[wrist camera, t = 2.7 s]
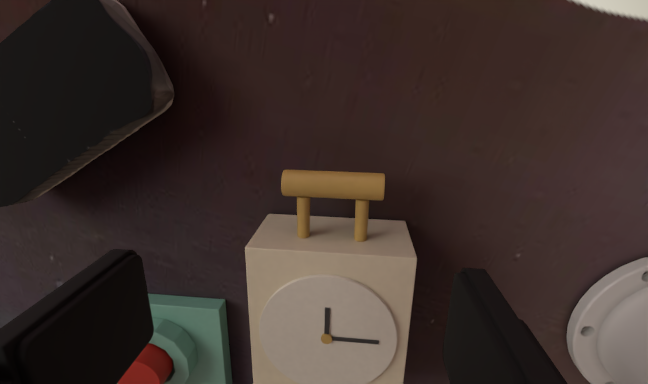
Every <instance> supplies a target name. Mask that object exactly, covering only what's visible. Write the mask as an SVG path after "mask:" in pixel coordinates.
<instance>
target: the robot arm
mask: <svg viewBox="0 0 648 384" xmlns="http://www.w3.org/2000/svg"><path fill="white" fill-rule="evenodd" d="M153 333H154V325H153V320H152V314H151V308H150V303H149V297H148V292H147V286H146V280H145V275H144V269H143V263H142V259H141V257H140V256H139V255H137V253H136V252H135V251H133V250H120V249H113V250H111V251H109V252H108V253H106V254H105V255H104V256H102V257H101V258H99V259H98V260H97V261H95V262H94V263H92V264H91V265H90V266H88V267H87V268H85V269H84V270H82V271H81V272H80V273H78V274H77V275H75V276H74V277H73V278H71V279H70V280H68V281H67V282H65V283H64V284H63V285H61V286H60V287H58V288H57V289H56V290H54V291H53V292H51V293H50V294H49V295H47V296H46V297H44V298H43V299H41V300H40V301H39V302H37V303H36V304H34V305H33V306H32V307H30V308H29V309H27V310H26V311H24V312H23V313H22V314H20V315H19V316H17V317H16V318H15V319H13V320H12V321H10V322H9V323H8V324H6V325H5V326H3V327H2V328H0V384H117V383H118V381H119V380H120V379H121V378H122V376H123V375H124V374H125V372H126V371H127V370H128V369H129V367H130V366H131V365H132V363H133V362H134V361H135V360H136V358H137V357H138V356H139V354H140V353H141V352H142V351H143V349H144V348H145V347H146V346H147V344H148V343H149V342H150V340H151V338H152V336H153ZM566 340H567V346H568V352H569V354H570V356H571V358H572V361H573V363H574V364H575V365H576V367H577V368H578V370H579V371H580V372H581V374H582V375H583V376H584V377H585V378H586V379H587V380H588V381H589V382H590V383H591V384H648V257H645V258H641V259H638V260H636V261H633V262H631V263H628V264H626V265H623V266H621V267H619V268H617V269H616V270H614V271H612V272H611V273H609V274H607V275H605V276H604V277H603V278H602V279H600V280H599V281H598V282H597V283H595V284H594V285H593V286H592V287H591V288H590V289H589V290H588V291H587V292H586V293H585V294H584V295H583V297H582V298H581V299H580V300H579V302H578V304H577V305H576V307H575V309H574V310H573V312H572V314H571V317H570V320H569V323H568V327H567V337H566ZM443 360H444V364H445V367H446V370H447V374H448V377H449V380H450V383H451V384H567V382H566V381H565V379H564V378H563V377H562V375H561V374H560V372H559V371H558V369H557V368H556V367H555V365H554V364H553V362H552V361H551V359H550V358H549V356H548V355H547V354H546V352H545V351H544V349H543V348H542V346H541V345H540V343H539V342H538V341H537V339H536V338H535V336H534V335H533V333H532V332H531V331H530V329H529V328H528V326H527V325H526V324H525V323H524V322H523V321H522V320H520V319H518V317H517V316H516V314H515V313H514V311H513V310H512V308H511V307H510V305H509V304H508V302H507V301H506V300H505V298H504V297H503V295H502V294H501V292H500V291H499V289H498V288H497V286H496V285H495V283H494V282H493V280H492V279H491V277H490V276H489V274H488V273H487V272H486V270H485V269H473V268H463V269H462V270H461V273H455V275H454V279H453V285H452V292H451V298H450V305H449V311H448V318H447V325H446V331H445V338H444V344H443Z"/></svg>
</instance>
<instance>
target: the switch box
mask: <svg viewBox="0 0 648 384" xmlns="http://www.w3.org/2000/svg"><path fill="white" fill-rule="evenodd" d="M148 297H149V303H150V308H151V314H152V320H153V325H154V333H153V336H152V338H151V340H150V342H149V343H151V344H154V345H156V346H158V347H160V348H162V349H164V350H165V351H166V352H167V353H168V354H169V356H170V357H171V358H172V360H173V370H172V372H171V373H170V375H169V376H168V378H167V379H166V381H165V382H164V384H232V372H231V360H230V349H229V338H228V326H227V315H226V303H225V299H212V298H199V297H186V296H173V295H160V294H148ZM117 384H118V383H117Z"/></svg>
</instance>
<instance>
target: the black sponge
mask: <svg viewBox="0 0 648 384" xmlns="http://www.w3.org/2000/svg"><path fill="white" fill-rule="evenodd" d="M173 98H174V89H173V85H172V82H171V80H170V78H169V76H168V74H167V72H166V70H165V68H164V66H163V64H162V62H161V60H160V58H159V57H158V55H157V53H156V52H155V50H154V48H153V47H152V46H151V45H150V43H149V42H148V41H147V39H146V38H145V36H144V35H143V34H142V32H141V31H140V29H139V28H138V26H137V24H136V23H135V21H134V19H133V18H132V16H131V15H130V13H129V12H128V11H127V9H126V8H125V7H124V6H123V5H122V4H121V3H119V2H118V1H117V0H51V1H50V2H49V3H47V4H46V5H45V6H44V7H42V8H41V9H40V10H39V11H37V12H36V13H35V14H33V15H32V16H31V18H29V19H28V20H27V21H26V22H24V23H23V24H22V25H21V26H19V27H18V28H17V29H16V30H15V31H14V32H13V33H11V34H10V35H9V36H8V37H7V38H6V39H5V40H3V41H2V42H1V43H0V207H2V206H9V205H13V204H18V203H23V202H27V201H30V200H33V199H36V198H38V197H40V196H41V195H43V194H44V193H46V192H47V191H49V190H50V189H52V188H53V187H54V186H56V185H58V184H60V183H61V182H62V181H64V180H65V179H67V178H68V177H70V176H72V175H73V174H74V173H76V172H77V171H78V170H80V169H81V168H83V167H84V166H85V165H86V164H88V163H90V162H91V161H92V160H94V159H96V158H97V157H98V156H100V155H102V154H103V153H104V152H106V151H108V150H110V149H111V148H113V147H114V146H116V145H117V144H118V143H119V142H121V141H123V140H124V139H125V138H126V137H128V136H130V135H131V134H133V133H134V132H136V131H138V130H139V128H141V127H142V126H144V125H145V124H147V123H148V122H150V121H151V120H153V119H154V118H156V117H157V116H159V115H160V114H162V113H163V112H165V111H166V110H167V109H168V108H169V107H170V106H171V105H172V102H173Z"/></svg>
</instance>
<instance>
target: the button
mask: <svg viewBox="0 0 648 384" xmlns="http://www.w3.org/2000/svg"><path fill="white" fill-rule="evenodd" d="M172 370H173V360H172V358H171V357H170V356H169V354H168V353H167V352H166V351H165V350H164V349H162V348H160V347H158V346H156V345H154V344H151V343H148V344H147V346H146V347H145V348H144V349H143V351H142V352H141V353H140V354H139V356H138V357H137V358H136V360H135V361H134V362H133V363H132V365H131V366H130V367H129V369H128V370H127V371H126V372H125V374H124V375H123V376H122V378H121V379H120V380H119V381H118V384H164V382H165V381H166V379H167V378H168V376H169V375H170V373H171V372H172Z"/></svg>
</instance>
